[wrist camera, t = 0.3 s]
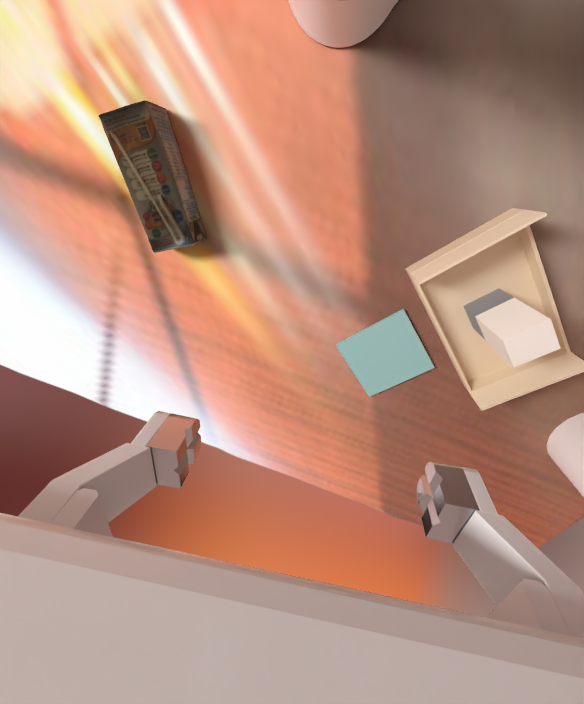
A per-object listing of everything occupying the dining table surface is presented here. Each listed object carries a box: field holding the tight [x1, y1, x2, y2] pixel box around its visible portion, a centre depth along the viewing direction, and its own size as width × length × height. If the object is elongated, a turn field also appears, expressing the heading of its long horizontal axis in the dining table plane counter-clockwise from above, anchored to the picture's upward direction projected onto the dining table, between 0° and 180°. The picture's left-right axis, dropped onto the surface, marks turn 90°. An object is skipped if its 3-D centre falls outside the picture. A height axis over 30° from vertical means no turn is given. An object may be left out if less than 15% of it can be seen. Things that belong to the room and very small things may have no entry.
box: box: [463, 288, 561, 367], centre depth 49 cm, size 6×5×14 cm
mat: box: [336, 309, 435, 397], centre depth 62 cm, size 14×14×1 cm
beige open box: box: [406, 208, 584, 411], centre depth 52 cm, size 17×27×8 cm, turn 33°
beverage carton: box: [99, 101, 207, 252], centre depth 49 cm, size 8×19×7 cm, turn 12°
